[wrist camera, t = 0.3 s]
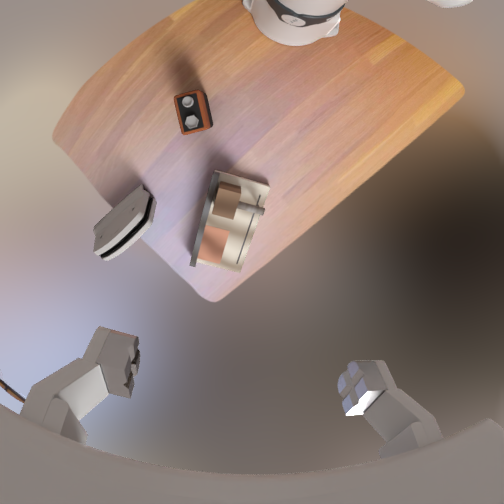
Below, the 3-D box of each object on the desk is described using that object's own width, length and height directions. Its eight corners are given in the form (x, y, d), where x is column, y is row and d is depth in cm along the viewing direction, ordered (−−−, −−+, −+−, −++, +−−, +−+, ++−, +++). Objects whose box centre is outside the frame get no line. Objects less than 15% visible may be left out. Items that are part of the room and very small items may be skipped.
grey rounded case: (143, 182, 51) (138, 211, 44) (158, 197, 54) (156, 227, 47) (93, 226, 55) (84, 258, 48) (108, 238, 58) (101, 270, 51)
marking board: (214, 169, 51) (213, 173, 48) (269, 185, 53) (271, 190, 50) (191, 257, 59) (189, 265, 56) (239, 269, 61) (240, 278, 58)
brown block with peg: (220, 180, 50) (218, 187, 46) (266, 193, 52) (268, 201, 48) (213, 204, 52) (211, 214, 48) (257, 217, 54) (259, 227, 50)
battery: (191, 132, 47) (180, 136, 38) (183, 99, 44) (171, 95, 35) (213, 126, 47) (208, 129, 38) (206, 93, 43) (198, 88, 35)
